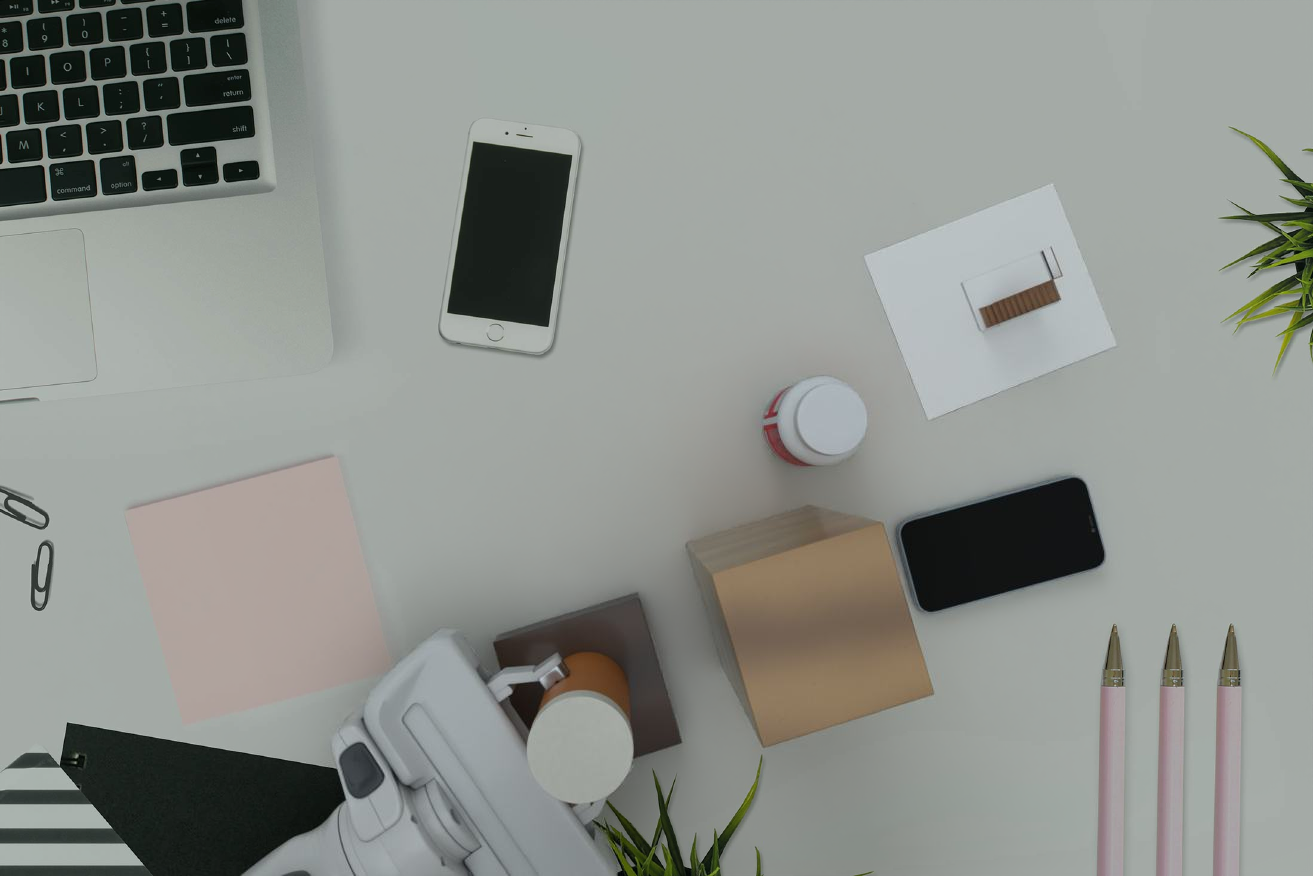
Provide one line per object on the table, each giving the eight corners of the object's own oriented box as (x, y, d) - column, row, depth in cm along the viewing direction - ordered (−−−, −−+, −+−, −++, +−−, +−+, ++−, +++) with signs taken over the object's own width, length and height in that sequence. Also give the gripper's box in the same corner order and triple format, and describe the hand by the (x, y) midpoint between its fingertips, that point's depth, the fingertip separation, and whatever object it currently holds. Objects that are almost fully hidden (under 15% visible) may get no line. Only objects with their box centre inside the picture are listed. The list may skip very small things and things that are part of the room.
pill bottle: (836, 469, 73) (875, 471, 62) (757, 462, 73) (781, 462, 62) (843, 389, 74) (883, 376, 62) (764, 381, 73) (790, 367, 62)
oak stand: (848, 630, 73) (935, 694, 53) (723, 669, 73) (763, 748, 53) (810, 504, 73) (883, 521, 53) (685, 542, 73) (710, 574, 53)
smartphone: (895, 522, 73) (1084, 471, 73) (891, 521, 73) (1078, 471, 74) (920, 617, 72) (1109, 566, 73) (917, 615, 73) (1103, 564, 74)
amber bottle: (640, 722, 69) (646, 786, 56) (558, 747, 69) (543, 817, 55) (616, 639, 69) (616, 683, 56) (534, 664, 69) (513, 714, 56)
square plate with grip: (1052, 182, 75) (1087, 160, 69) (1117, 345, 74) (1157, 336, 69) (863, 256, 74) (883, 239, 68) (928, 420, 74) (953, 417, 68)
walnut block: (679, 731, 72) (682, 743, 69) (539, 775, 72) (535, 789, 69) (637, 591, 73) (638, 597, 70) (497, 634, 72) (492, 642, 69)
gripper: (504, 991, 59) (688, 860, 60) (315, 717, 59) (502, 589, 60) (515, 939, 65) (682, 821, 66) (345, 692, 65) (513, 576, 66)
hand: (595, 709), depth 63 cm, fingers closed on amber bottle, 6 cm apart
